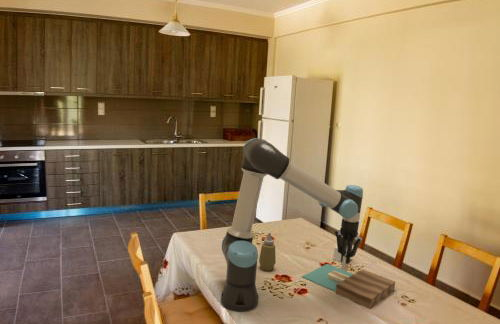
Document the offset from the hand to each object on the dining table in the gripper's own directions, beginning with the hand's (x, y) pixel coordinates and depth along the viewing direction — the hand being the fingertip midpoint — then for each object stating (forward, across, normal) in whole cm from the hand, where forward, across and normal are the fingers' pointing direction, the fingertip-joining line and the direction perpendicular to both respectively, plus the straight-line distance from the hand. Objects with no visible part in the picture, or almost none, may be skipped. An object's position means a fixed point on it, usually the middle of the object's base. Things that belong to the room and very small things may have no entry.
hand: (344, 269), depth 177 cm
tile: (+6, +2, 0) cm, 6 cm away
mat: (+7, +6, 0) cm, 9 cm away
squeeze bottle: (+7, +32, +17) cm, 37 cm away
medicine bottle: (+7, +14, -23) cm, 28 cm away
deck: (+6, -11, 0) cm, 13 cm away
